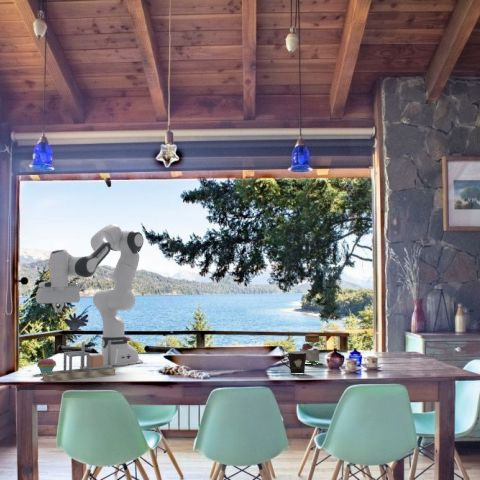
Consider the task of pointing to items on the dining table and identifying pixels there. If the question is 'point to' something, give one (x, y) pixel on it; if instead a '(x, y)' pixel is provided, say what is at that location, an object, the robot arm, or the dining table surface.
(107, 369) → the board
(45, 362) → the cupcake
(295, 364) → the coffee mug
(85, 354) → the tunnel
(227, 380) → the dining table surface
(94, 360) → the sled
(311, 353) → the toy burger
